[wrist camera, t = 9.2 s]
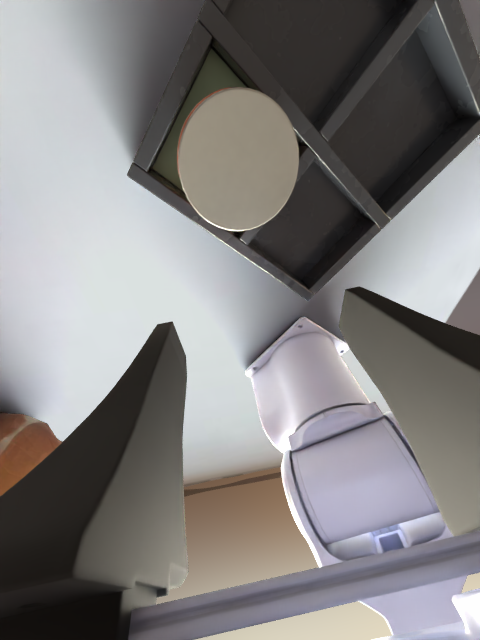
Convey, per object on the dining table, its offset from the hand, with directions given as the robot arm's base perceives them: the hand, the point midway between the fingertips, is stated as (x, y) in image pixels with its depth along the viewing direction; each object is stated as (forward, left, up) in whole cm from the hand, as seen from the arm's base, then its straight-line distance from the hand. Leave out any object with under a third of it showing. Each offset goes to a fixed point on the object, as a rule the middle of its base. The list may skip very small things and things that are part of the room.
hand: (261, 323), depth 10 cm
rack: (+7, 0, -10) cm, 13 cm away
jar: (+4, +4, -10) cm, 11 cm away
